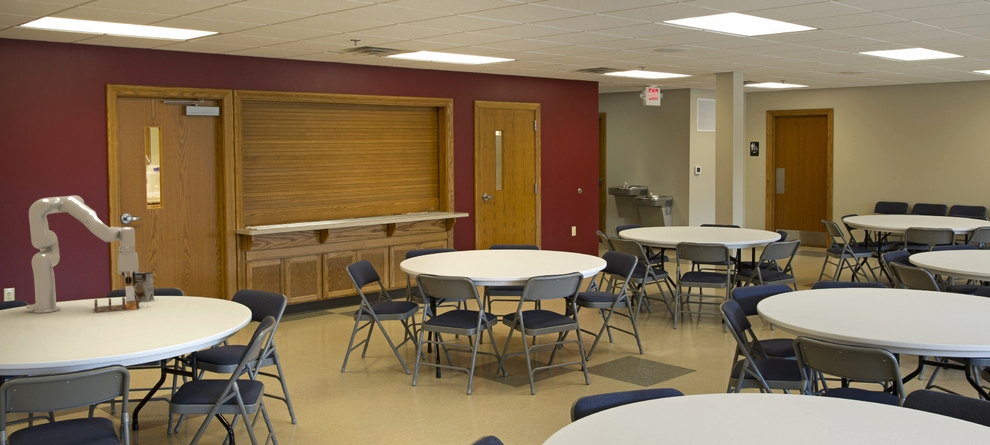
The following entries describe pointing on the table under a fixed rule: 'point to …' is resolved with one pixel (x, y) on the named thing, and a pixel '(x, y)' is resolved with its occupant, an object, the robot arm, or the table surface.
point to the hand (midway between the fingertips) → (128, 284)
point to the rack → (117, 306)
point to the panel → (130, 294)
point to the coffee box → (143, 286)
